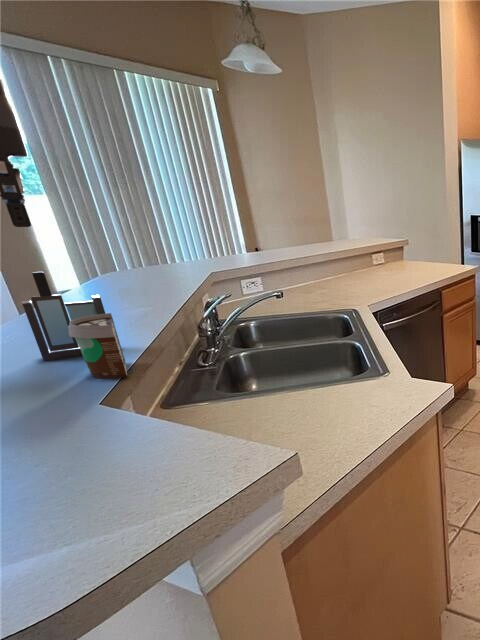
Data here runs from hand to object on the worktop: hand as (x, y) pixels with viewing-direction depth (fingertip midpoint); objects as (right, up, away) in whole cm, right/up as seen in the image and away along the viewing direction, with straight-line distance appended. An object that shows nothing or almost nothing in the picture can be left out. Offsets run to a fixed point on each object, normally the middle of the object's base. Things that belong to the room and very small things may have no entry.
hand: (22, 225), depth 81 cm
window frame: (-1, -23, +12) cm, 26 cm away
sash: (-2, -22, +10) cm, 24 cm away
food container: (+13, -27, +2) cm, 30 cm away
